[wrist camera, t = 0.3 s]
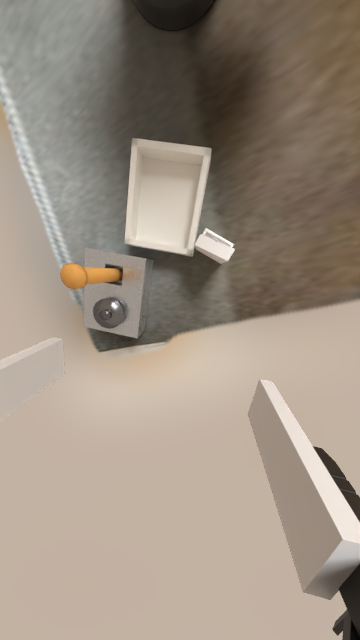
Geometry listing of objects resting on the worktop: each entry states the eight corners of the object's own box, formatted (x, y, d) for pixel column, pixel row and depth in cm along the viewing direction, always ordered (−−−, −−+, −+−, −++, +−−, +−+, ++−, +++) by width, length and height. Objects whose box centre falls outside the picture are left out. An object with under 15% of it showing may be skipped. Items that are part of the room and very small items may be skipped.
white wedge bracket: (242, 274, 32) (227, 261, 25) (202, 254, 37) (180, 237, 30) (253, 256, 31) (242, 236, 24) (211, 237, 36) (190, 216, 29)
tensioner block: (99, 250, 37) (74, 245, 30) (153, 260, 36) (141, 257, 29) (97, 320, 42) (75, 330, 34) (145, 330, 41) (132, 343, 33)
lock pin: (116, 265, 36) (60, 261, 22) (130, 268, 36) (83, 266, 22) (115, 280, 37) (60, 286, 23) (129, 283, 37) (83, 291, 23)
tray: (139, 152, 31) (132, 137, 28) (210, 161, 30) (211, 148, 27) (131, 246, 36) (124, 243, 32) (192, 256, 35) (191, 255, 32)
